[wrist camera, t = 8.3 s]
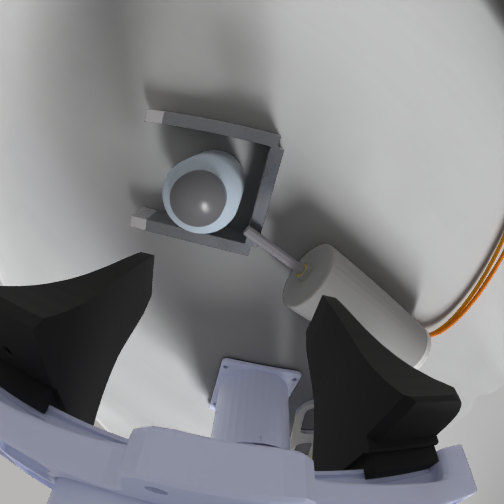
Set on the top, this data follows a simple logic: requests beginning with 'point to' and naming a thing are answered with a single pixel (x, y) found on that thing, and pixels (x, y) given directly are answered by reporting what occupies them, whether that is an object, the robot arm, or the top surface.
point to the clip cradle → (234, 237)
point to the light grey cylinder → (204, 191)
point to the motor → (361, 297)
